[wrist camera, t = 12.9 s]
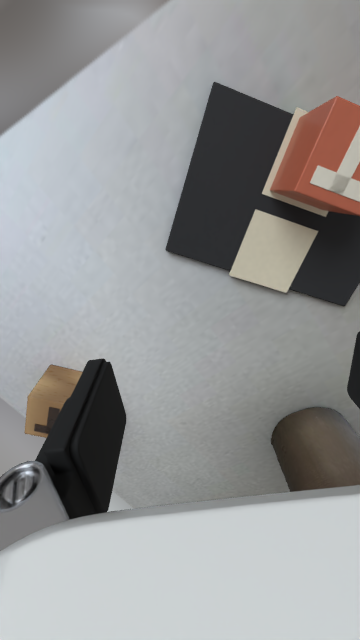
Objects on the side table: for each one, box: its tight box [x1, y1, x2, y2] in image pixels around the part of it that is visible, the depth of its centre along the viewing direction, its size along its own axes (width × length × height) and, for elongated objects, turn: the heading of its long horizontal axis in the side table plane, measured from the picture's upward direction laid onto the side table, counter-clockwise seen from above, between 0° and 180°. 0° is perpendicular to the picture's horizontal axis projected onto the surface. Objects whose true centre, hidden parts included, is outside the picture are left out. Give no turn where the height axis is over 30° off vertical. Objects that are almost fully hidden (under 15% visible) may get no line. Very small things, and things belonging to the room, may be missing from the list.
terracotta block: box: [270, 96, 360, 216], centre depth 18 cm, size 5×5×5 cm
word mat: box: [166, 82, 360, 306], centre depth 22 cm, size 18×13×1 cm
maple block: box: [25, 365, 82, 438], centre depth 28 cm, size 5×5×5 cm
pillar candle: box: [271, 407, 360, 492], centre depth 28 cm, size 10×10×15 cm
